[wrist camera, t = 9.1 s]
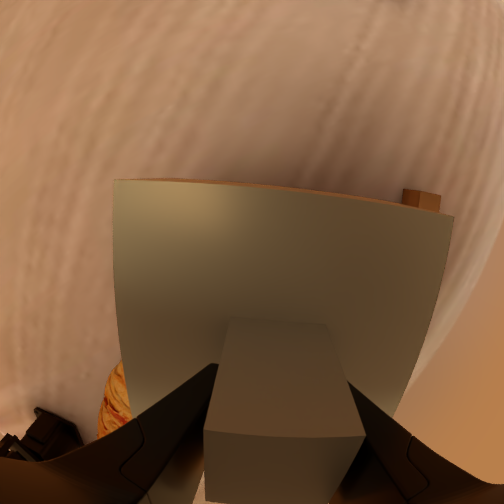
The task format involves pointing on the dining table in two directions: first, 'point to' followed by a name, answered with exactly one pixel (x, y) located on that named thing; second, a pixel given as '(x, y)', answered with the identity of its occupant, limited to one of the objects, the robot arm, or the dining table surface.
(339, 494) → the robot arm
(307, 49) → the dining table surface
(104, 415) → the croissant
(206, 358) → the cover
